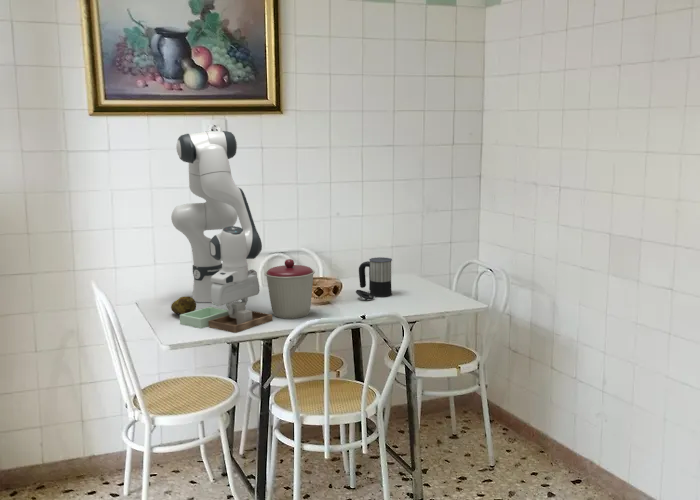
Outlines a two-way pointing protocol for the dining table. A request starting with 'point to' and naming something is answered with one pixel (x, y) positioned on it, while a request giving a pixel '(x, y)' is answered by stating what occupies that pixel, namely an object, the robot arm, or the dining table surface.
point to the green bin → (202, 316)
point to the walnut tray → (231, 324)
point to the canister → (290, 289)
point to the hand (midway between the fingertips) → (237, 312)
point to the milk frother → (376, 278)
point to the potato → (183, 305)
